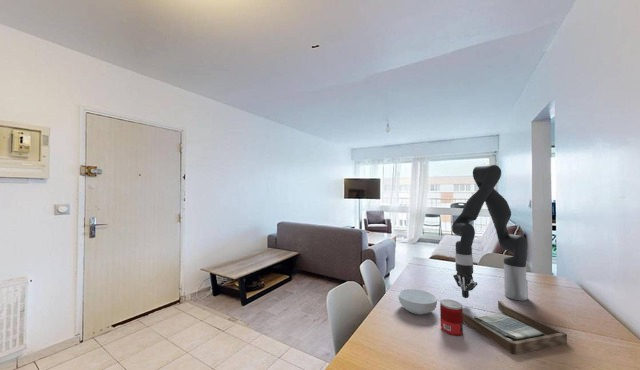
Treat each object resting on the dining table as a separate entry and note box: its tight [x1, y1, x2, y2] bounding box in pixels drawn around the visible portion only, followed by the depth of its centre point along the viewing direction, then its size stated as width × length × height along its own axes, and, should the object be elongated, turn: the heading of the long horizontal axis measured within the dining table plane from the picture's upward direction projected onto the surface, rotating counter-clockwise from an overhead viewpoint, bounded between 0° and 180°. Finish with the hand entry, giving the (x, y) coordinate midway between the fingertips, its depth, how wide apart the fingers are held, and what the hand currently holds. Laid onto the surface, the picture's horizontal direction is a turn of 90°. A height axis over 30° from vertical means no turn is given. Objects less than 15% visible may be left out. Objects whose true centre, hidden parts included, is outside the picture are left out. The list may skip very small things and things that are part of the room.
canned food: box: [439, 299, 464, 337], centre depth 98 cm, size 8×8×11 cm
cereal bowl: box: [398, 288, 438, 316], centre depth 114 cm, size 17×17×7 cm
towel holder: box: [463, 300, 568, 355], centre depth 100 cm, size 30×28×4 cm
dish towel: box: [473, 312, 546, 342], centre depth 99 cm, size 19×18×3 cm
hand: (465, 297), depth 120 cm, fingers closed
